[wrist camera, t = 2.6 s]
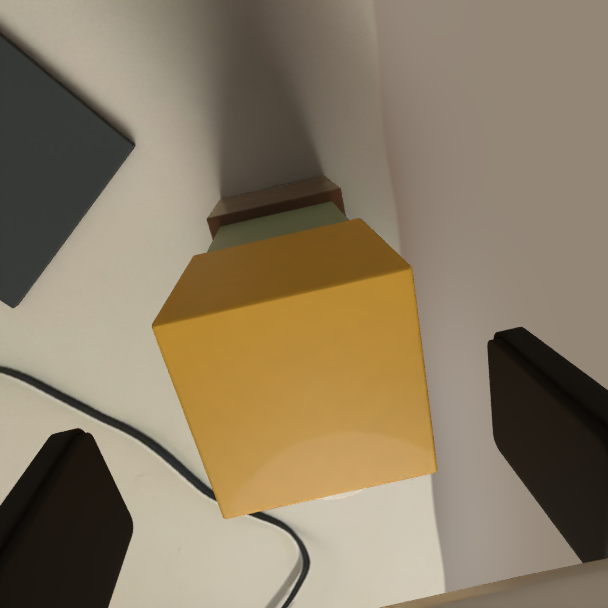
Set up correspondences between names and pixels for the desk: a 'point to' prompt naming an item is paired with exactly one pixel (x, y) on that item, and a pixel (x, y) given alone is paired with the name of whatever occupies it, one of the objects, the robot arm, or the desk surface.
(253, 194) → the bottom block
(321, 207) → the middle block
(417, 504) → the desk surface
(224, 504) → the top block
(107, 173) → the felt mat
